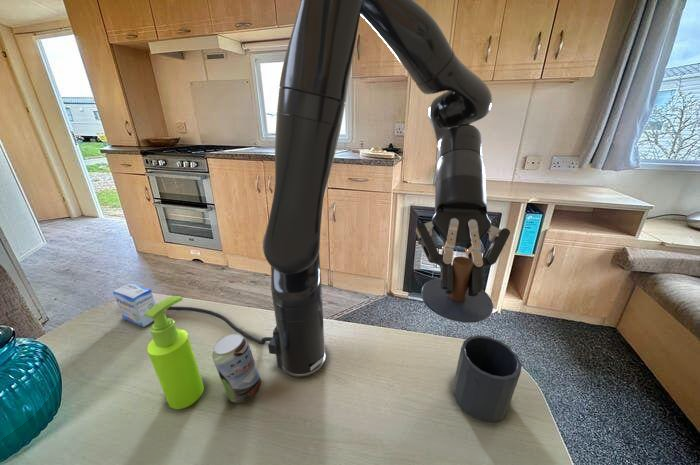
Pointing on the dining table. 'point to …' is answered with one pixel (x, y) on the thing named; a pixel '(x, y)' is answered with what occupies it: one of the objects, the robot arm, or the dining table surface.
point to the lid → (457, 296)
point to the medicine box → (135, 303)
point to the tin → (486, 378)
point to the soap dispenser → (173, 358)
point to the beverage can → (236, 367)
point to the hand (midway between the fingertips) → (461, 293)
